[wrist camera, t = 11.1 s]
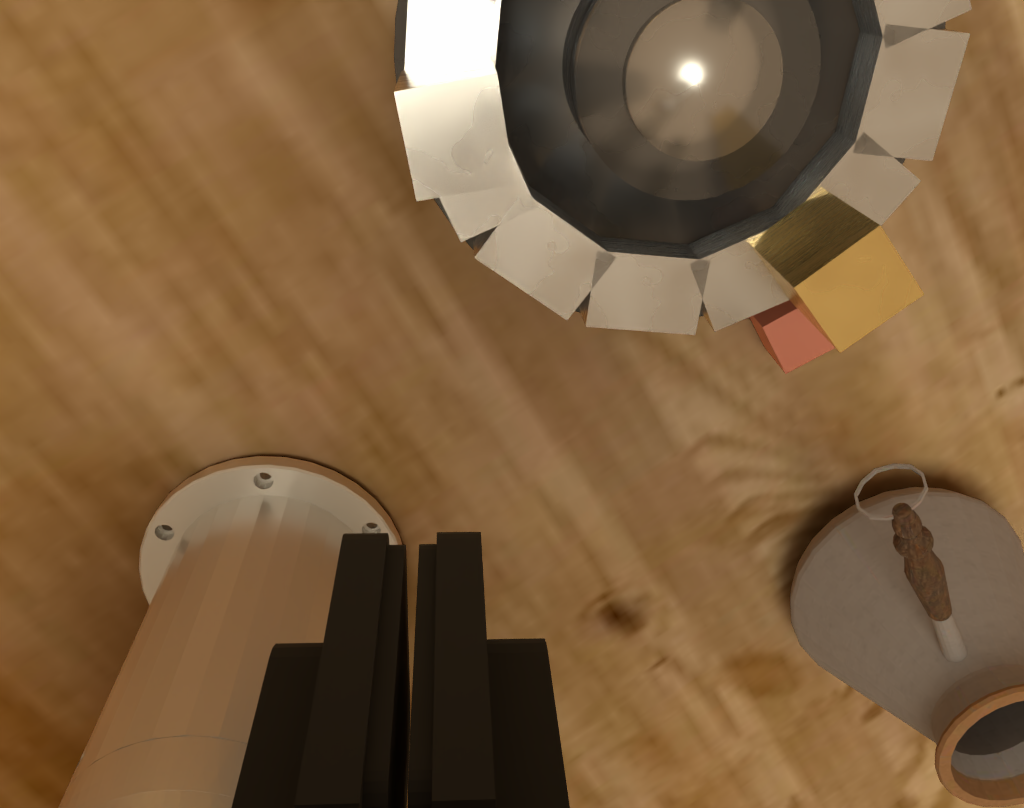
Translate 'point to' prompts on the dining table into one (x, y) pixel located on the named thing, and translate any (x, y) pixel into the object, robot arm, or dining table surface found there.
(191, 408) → the dining table surface
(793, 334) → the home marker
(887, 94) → the crenellated round base
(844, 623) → the coffee pot
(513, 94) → the grey round platform
